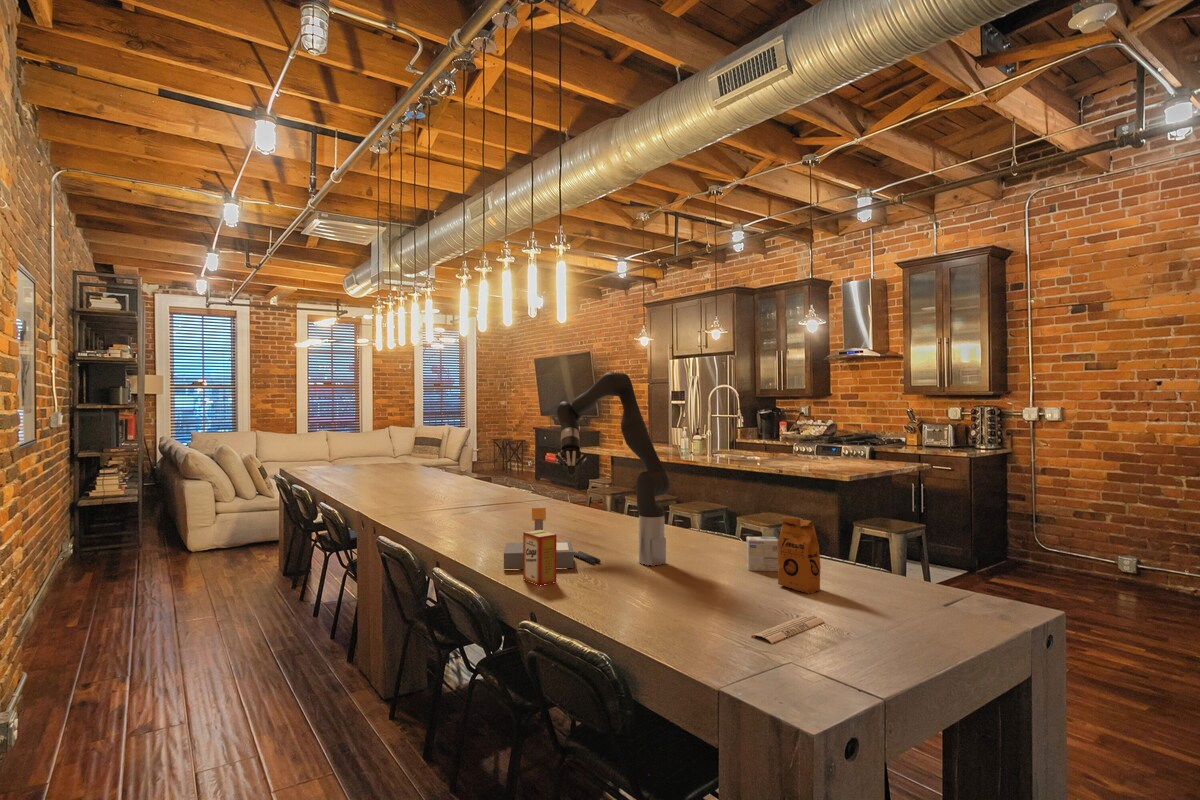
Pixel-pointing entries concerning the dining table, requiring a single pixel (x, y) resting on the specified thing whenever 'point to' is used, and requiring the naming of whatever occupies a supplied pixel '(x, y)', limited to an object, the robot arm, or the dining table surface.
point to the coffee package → (798, 556)
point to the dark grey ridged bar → (587, 557)
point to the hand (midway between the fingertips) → (571, 475)
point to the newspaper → (789, 628)
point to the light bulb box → (762, 553)
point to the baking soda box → (539, 557)
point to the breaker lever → (538, 517)
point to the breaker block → (515, 555)
